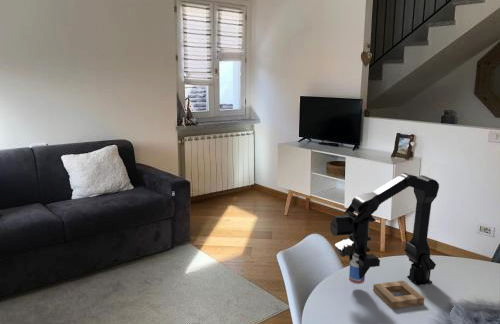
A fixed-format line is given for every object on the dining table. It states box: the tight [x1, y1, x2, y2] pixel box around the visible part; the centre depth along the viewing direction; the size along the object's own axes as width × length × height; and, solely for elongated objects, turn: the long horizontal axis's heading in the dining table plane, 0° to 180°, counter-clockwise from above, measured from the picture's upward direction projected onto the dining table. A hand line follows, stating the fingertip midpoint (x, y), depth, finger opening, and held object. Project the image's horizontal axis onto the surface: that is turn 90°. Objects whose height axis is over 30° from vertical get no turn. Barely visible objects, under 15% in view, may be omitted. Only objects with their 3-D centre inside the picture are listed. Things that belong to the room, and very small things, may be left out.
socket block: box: [372, 280, 425, 310], centre depth 150 cm, size 12×12×2 cm
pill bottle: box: [348, 254, 366, 285], centre depth 154 cm, size 6×5×10 cm
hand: (357, 274), depth 155 cm, fingers closed on pill bottle, 5 cm apart
